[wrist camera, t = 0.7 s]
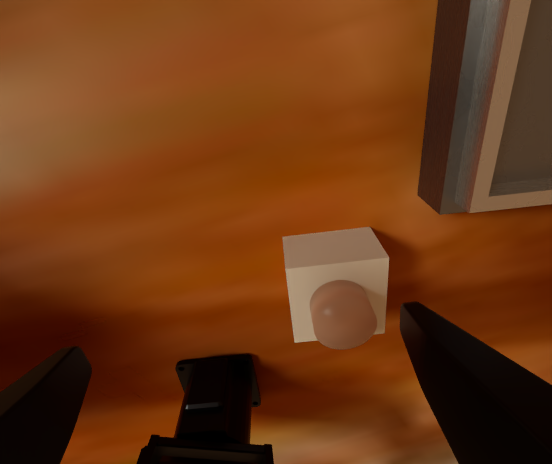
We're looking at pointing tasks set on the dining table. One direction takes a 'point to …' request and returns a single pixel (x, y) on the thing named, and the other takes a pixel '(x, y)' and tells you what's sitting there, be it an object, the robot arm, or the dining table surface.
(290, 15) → the dining table surface
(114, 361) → the dining table surface
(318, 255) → the beige cube with knob
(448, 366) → the robot arm
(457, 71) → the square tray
